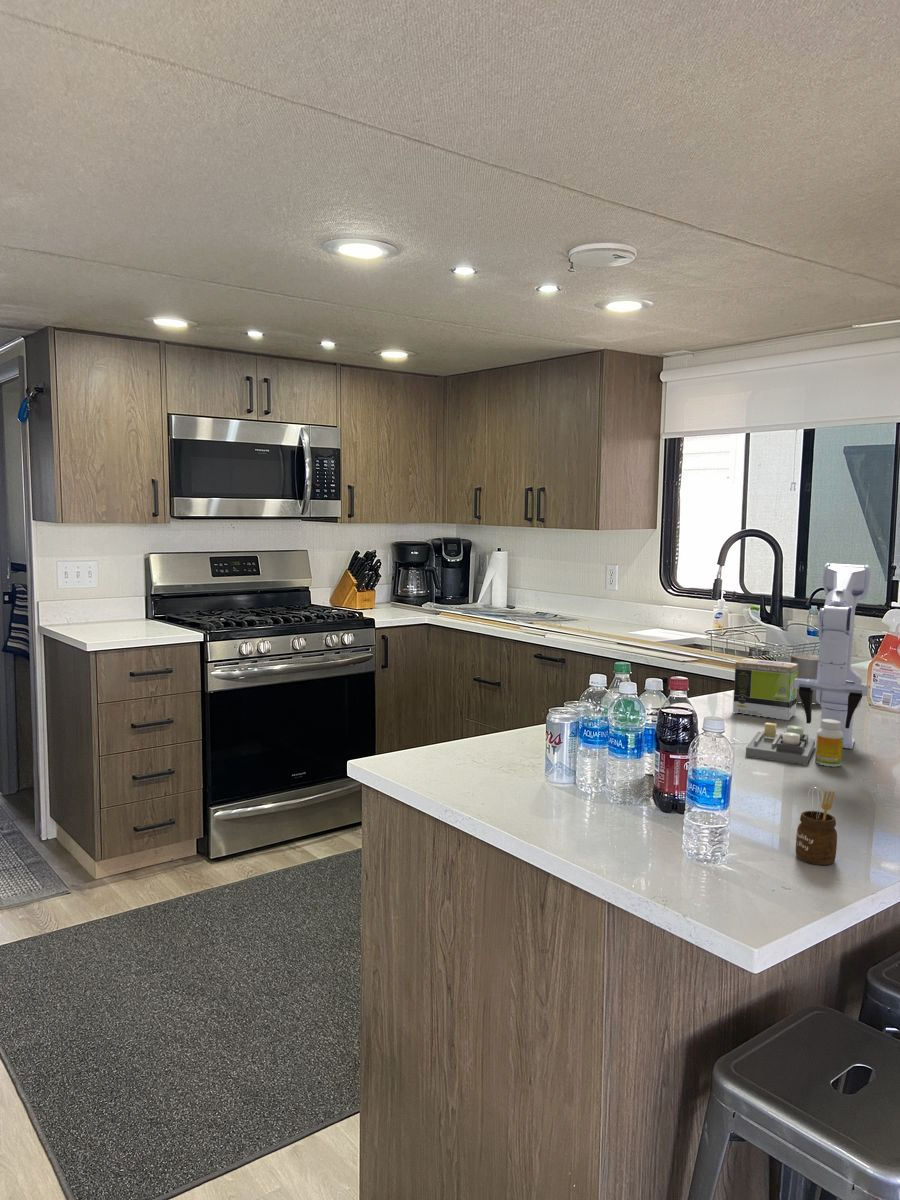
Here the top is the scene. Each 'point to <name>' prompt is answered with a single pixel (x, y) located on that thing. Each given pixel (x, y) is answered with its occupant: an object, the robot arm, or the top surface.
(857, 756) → the top surface
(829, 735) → the supplement bottle
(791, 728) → the sage button
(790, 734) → the white button
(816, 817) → the utensil holder
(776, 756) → the panel
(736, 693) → the tea box
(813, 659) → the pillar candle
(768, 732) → the tan wooden block
